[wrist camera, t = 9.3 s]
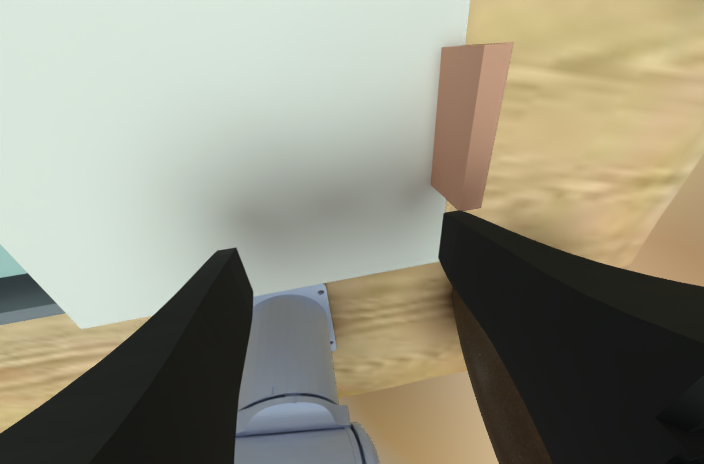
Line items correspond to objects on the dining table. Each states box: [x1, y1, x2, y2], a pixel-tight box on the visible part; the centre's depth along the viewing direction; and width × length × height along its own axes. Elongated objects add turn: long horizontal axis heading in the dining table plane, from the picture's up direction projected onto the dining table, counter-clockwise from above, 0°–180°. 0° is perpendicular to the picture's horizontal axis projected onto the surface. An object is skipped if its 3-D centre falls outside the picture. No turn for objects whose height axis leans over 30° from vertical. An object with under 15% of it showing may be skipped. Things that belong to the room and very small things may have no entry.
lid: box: [0, 0, 514, 329], centre depth 11 cm, size 17×21×4 cm
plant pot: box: [452, 288, 553, 464], centre depth 22 cm, size 15×15×16 cm
